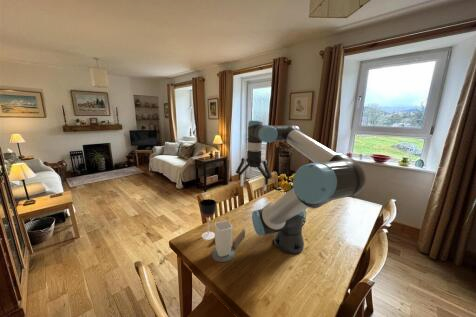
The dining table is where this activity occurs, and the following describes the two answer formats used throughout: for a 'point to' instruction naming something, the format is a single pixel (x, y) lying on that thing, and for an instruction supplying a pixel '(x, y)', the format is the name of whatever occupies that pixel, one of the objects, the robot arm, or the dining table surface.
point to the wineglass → (208, 215)
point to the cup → (223, 237)
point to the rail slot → (238, 239)
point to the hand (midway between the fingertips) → (252, 187)
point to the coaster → (223, 258)
